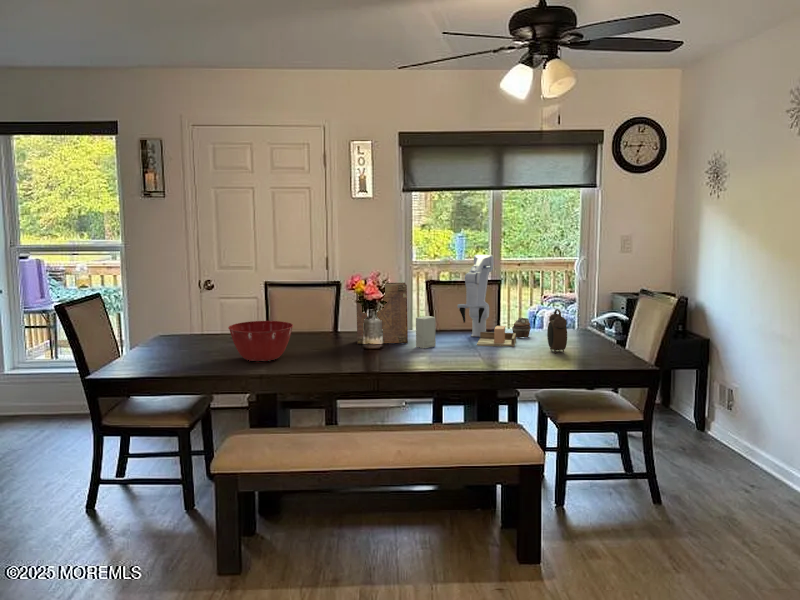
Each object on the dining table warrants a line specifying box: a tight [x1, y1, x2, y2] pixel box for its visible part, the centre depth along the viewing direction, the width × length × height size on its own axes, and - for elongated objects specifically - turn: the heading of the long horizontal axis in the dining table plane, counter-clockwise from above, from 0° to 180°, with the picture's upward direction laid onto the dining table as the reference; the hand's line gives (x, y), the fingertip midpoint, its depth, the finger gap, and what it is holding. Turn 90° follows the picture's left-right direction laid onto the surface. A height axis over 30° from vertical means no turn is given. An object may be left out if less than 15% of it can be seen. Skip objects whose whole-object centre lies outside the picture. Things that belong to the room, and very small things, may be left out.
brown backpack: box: [547, 308, 568, 354], centre depth 298 cm, size 14×7×20 cm, turn 1°
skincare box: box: [415, 315, 437, 349], centre depth 313 cm, size 8×6×15 cm
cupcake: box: [511, 317, 532, 338], centre depth 338 cm, size 10×10×10 cm
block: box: [493, 325, 506, 343], centre depth 320 cm, size 4×9×7 cm, turn 166°
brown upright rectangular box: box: [355, 282, 409, 345], centre depth 325 cm, size 25×9×30 cm, turn 94°
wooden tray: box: [476, 331, 517, 348], centre depth 322 cm, size 16×18×4 cm
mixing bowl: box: [228, 320, 294, 362], centre depth 290 cm, size 28×28×16 cm
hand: (471, 322), depth 328 cm, fingers open, 7 cm apart
